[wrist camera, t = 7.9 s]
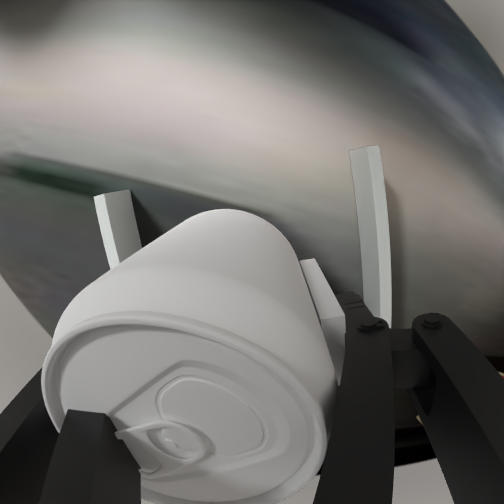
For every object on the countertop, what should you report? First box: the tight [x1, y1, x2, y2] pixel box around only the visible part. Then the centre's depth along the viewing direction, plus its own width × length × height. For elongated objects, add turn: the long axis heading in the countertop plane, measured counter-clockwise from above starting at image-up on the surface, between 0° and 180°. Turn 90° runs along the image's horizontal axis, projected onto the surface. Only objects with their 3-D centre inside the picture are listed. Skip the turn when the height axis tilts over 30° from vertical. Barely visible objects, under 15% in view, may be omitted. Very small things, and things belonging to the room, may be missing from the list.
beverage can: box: [41, 209, 339, 504], centre depth 12 cm, size 8×8×12 cm
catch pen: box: [94, 145, 392, 328], centre depth 20 cm, size 13×17×4 cm
